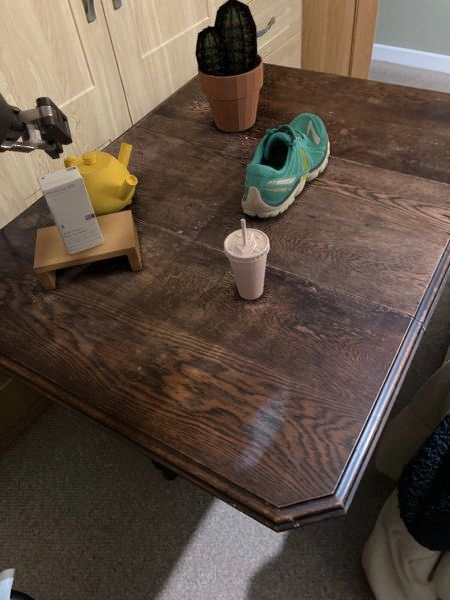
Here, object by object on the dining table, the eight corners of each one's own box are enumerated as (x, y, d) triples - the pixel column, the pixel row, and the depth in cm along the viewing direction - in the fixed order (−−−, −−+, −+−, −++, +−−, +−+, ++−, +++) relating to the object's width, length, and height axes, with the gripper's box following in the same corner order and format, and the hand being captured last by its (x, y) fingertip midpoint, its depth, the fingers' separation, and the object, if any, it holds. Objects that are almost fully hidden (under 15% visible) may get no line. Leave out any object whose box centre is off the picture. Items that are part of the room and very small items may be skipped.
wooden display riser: (45, 290, 80) (33, 268, 76) (48, 251, 87) (37, 229, 83) (142, 269, 81) (134, 246, 77) (137, 232, 88) (130, 209, 84)
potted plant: (221, 105, 117) (208, -15, 99) (275, 111, 112) (271, -13, 94) (194, 133, 110) (174, 9, 91) (250, 142, 105) (241, 12, 86)
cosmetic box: (69, 256, 77) (40, 192, 68) (62, 241, 80) (34, 177, 71) (106, 242, 79) (82, 177, 70) (98, 227, 82) (75, 163, 73)
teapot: (147, 220, 90) (133, 167, 82) (73, 236, 89) (51, 183, 81) (141, 178, 100) (127, 126, 91) (74, 192, 99) (54, 141, 91)
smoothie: (225, 303, 74) (214, 231, 64) (235, 274, 78) (226, 201, 68) (267, 308, 72) (263, 234, 62) (275, 277, 76) (272, 204, 66)
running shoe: (340, 145, 100) (344, 90, 92) (291, 232, 83) (290, 174, 75) (288, 138, 104) (287, 84, 96) (232, 219, 87) (225, 163, 79)
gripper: (20, 30, 36) (73, 110, 53) (-176, 66, 36) (-61, 136, 52) (43, 130, 37) (89, 179, 53) (-151, 168, 36) (-45, 206, 52)
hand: (15, 157), depth 52 cm, fingers open, 8 cm apart
